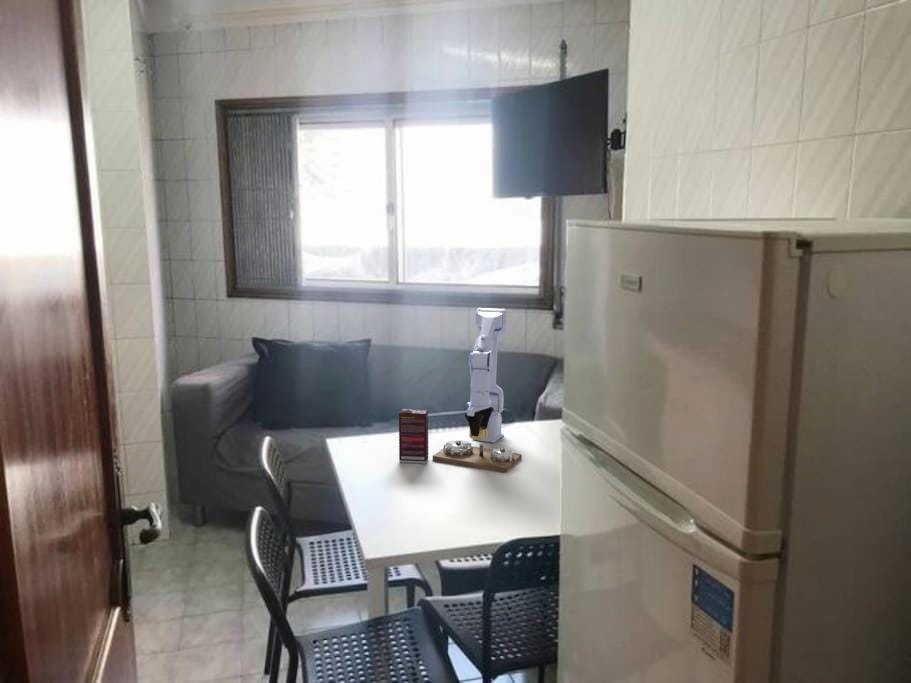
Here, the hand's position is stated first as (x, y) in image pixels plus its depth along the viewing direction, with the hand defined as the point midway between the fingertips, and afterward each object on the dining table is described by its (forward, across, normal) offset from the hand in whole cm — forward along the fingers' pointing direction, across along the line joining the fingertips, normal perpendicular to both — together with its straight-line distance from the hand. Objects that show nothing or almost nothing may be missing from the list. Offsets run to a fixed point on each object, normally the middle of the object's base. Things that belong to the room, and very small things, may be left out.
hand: (478, 433), depth 232 cm
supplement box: (+9, +10, -17) cm, 22 cm away
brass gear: (+1, 0, 0) cm, 1 cm away
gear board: (+8, 0, 0) cm, 9 cm away
